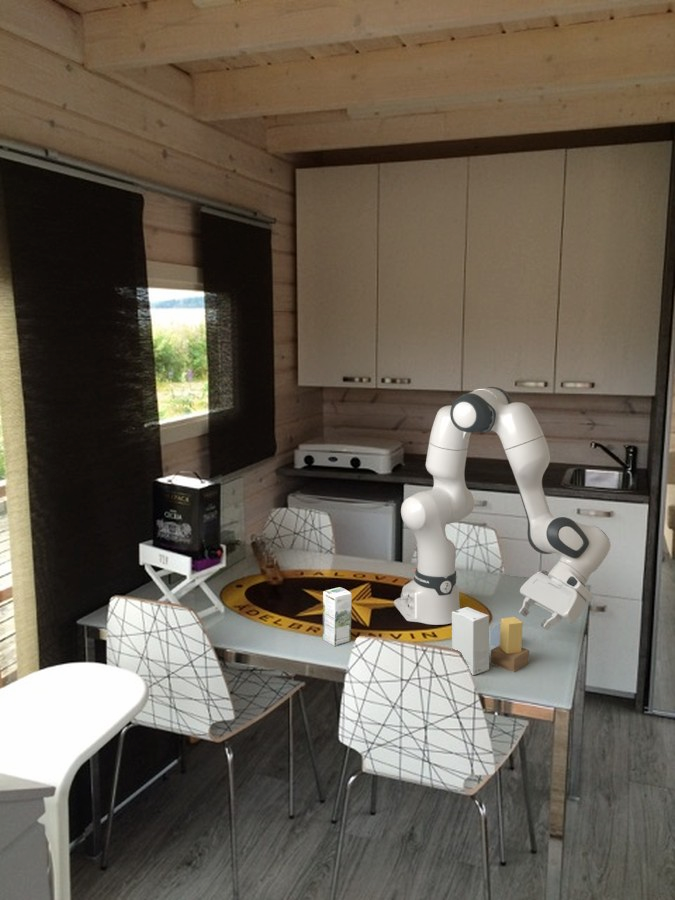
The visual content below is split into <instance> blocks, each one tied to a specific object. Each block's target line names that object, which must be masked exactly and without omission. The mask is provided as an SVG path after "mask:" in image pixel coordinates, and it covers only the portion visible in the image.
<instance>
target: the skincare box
mask: <svg viewBox="0 0 675 900" xmlns="http://www.w3.org/2000/svg"><path fill="white" fill-rule="evenodd" d="M461 608H462V607H461ZM452 648H453V649H455V650H458V651H460V652H461V653H462V655H463V657H464V659H465V660H466V662H467V664H468V666H469V669H470V671H471V673H472V674H471V675H472V676H476V675H478V674H483V673H484V672H487V671H489V670H490V614H488V613H487V614H486V613H483V612H480V611H479V610H476V609H474V608H471V607H469V606H466V607H463V608H462V609H459V610H456V611H453V612H452V623H451V649H452Z"/></svg>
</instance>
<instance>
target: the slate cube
mask: <svg viewBox="0 0 675 900" xmlns="http://www.w3.org/2000/svg"><path fill="white" fill-rule="evenodd" d="M500 629H501V623H500V624H497V625H495V626H492V627H490V637H489V646H491V645H492V646H491V647H494V646H495V647H494V648H496V647H498V646H499V645H500Z"/></svg>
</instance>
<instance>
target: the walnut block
mask: <svg viewBox="0 0 675 900" xmlns="http://www.w3.org/2000/svg"><path fill="white" fill-rule="evenodd" d="M529 658H530V649H527V648H525V647H522V646H521V652H516V653H509V654H507V653H506V652H505V651H503V650H502V649H501V648H500V645H499V646H498V647H493V648H492V649H490V664H491V665H494V666H496V665H497V666H496V667H499V668H502V669H504V670H507V671H509V672H513V673H515V672H516V671H518V670H519V669H521V668H523V667H525V666H527V665H528V664H529V663H530V662H529V661H530V659H529Z"/></svg>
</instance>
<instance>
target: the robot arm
mask: <svg viewBox="0 0 675 900" xmlns="http://www.w3.org/2000/svg"><path fill="white" fill-rule="evenodd" d="M490 431H492V432H495V433H496V434H497V436H498V437H499V440H500V442H501V445H502V447H503V450H504V452H505V455H506V458H507V461H508V462H509V465H510V468H511V471H512V473H513V476H514V478H515V482H516V485H517V486H516V487H517V489H518V492H519V495H520V499H521V502H522V505H523V508H524V509H523V510H524V512H525V515H526V519H527V539H528V542H529V543H528V544H530V547H532V549H534V551H536V552H538V553H540V554H541V555H551V554H556V555H558V557H559V560H558V561H557V562H556V563H555V565H554V566H553V568H552V569H551V570H550V571H549V572H548V571H547V570H543V569H542V570H540V571H537V572H536V573H533V575H532V576H530V577H529V578H527V580H526V581H525V582H524V583H523V584H522V585H521V587H520V589H519V594H520V595H522V597H523V598H524V599H523V602H522V606H521V608H520V610H518V612H519V614H520V615H521V616H523V617H525V618H527V616H528V615H529V614H530V611H529V609H530V607H532V606H533V605H534V604H535V606H538V607H539V608H541V609H543V610H545V611H547V612H549V613H551V617H549V618H548V619H544V620H543V621H542V622H541V624H540V626H541V627H542V629H544V630H547V631H549V630H550V628H551V627H552V626H554V625H556V624H558V623H560V622H561V620H563V621H565V622H567V623H569V624H571V623H574V622H576V621H577V620H578V619H579V618H580V616H582V614H583V612H584V611H585V610H586V608H587V603H590V602H592V600H593V599H594V598H593V597H594V596H593V594H592V593H591V592H590V590H588V588H586V585H585V584H586V583H587V582H588V581H589V577H590V576H591V574H593V573H594V572H596V571H597V570H598V568H599V567H600V566H601V565H602V563H603V562H604V560H605V559H606V557H607V556H608V554H609V552H610V549H611V547H612V546H611V545H612V544H611V541H610V538H609V537H608V536H607V534H606V532H604V531H603V530H601V529H600V527H597V525H587V524H584V523H583V524H582V523H580V522H577V521H575V520H573V519H572V518H569V517H566V516H554V515H553V514H552V513H551V511H550V508H549V505H548V502H547V499H546V494H545V492H544V488H543V476H544V474H545V472H546V470H547V468H548V467H549V464H550V462H551V455H550V448H549V445H548V442H547V439H546V437H545V435H544V431H543V430H542V427H541V425H540V422H539V421H538V419H537V417H536V416H535V414H534V412H533V410H532V409H531V407H530V406H529V405H528V404H527V403H525V402H518V401H517V402H516V401H515V402H512V398H511V396H510V395H509V393H508V392H507V391H505V390H504V389H502V388H500V387H496V386H488V387H484V388H483V387H482V388H478V389H474V390H472V391H470V392H468V393H464V394H462V395H460V396H458V398H457V399H455V400H454V402H453V403H452V405H445V406H442V407H441V408H439V410H438V411H437V413H436V415H435V418H434V421H433V424H432V427H431V431H430V436H429V440H428V447H427V452H426V453H427V454H426V459H425V460H426V461H425V468H426V470H427V472H428V474H430V475H431V476H432V478H433V486H432V489H428V490H423V491H419V492H415V493H414V494H412V495H410V496H409V497H407V498H405V500H403V502H402V503H401V508H400V514H401V519H402V521H403V523H404V525H405V526H406V527H407V528H408V529H410V530H411V531H412V533H413V536H414V537H415V541H416V546H417V547H416V549H417V567H414V568H413V572H414V575H413V579H411V580H410V581H409V582H407V583H406V584H404V586H403V587H402V590H401V593H400V597H398V598H396V599H395V600H394V601H393V605H394V606H395V608H396V609H397V610H398V611H399V612H400V614H401V615H402V616H403V618H404V619H405V620H406V621H407V622H413V623H421V624H425V625H431V626H432V625H435V626H437V625H438V626H439V625H443V626H444V625H448V624H449V625H450V624H452V612H453V611H456V610H459V609H462V607H461V606H460V593H459V591H460V590H459V587H458V585H457V578H458V577H457V571H456V552H457V551H456V550H457V549H456V546H455V544H454V542H452V540H450V539H449V538H448V537H447V534H446V525H450V524H452V523H453V524H454V523H458V522H460V521H462V520H463V519H465V518H467V516H469V515H471V513H472V512H473V510H474V507H475V500H474V495H473V494H472V492H471V490H470V489H468V487H467V484H466V479H465V470H466V469H465V468H466V461H467V455H468V448H469V443H470V438H471V434H478V433H489V432H490Z"/></svg>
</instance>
